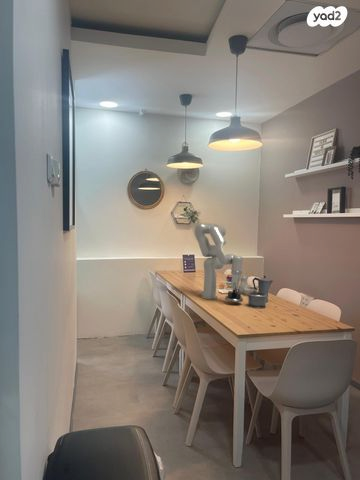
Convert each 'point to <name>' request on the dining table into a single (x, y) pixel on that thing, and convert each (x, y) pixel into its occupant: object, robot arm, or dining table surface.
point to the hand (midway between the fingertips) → (234, 296)
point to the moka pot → (263, 285)
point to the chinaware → (245, 286)
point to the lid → (237, 299)
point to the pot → (257, 300)
